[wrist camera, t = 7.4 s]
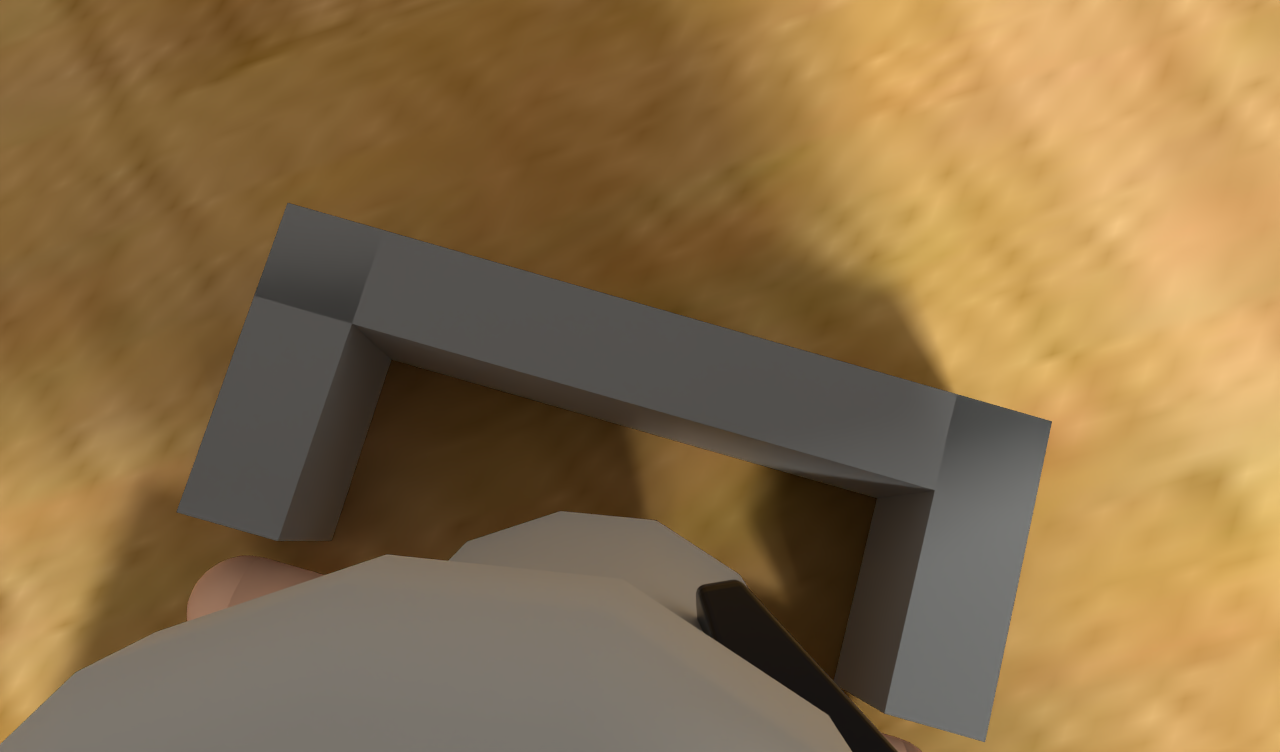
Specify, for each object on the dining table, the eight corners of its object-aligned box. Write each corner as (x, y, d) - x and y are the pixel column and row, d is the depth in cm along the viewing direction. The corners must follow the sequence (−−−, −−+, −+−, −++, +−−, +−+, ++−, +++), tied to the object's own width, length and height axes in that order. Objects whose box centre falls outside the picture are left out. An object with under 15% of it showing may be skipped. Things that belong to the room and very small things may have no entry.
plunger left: (377, 692, 16) (354, 709, 14) (195, 641, 16) (152, 652, 14) (409, 594, 16) (389, 599, 14) (230, 542, 16) (191, 543, 14)
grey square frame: (816, 1157, 16) (868, 1299, 13) (96, 954, 16) (-18, 1049, 13) (975, 440, 18) (1052, 420, 15) (337, 257, 18) (287, 202, 15)
